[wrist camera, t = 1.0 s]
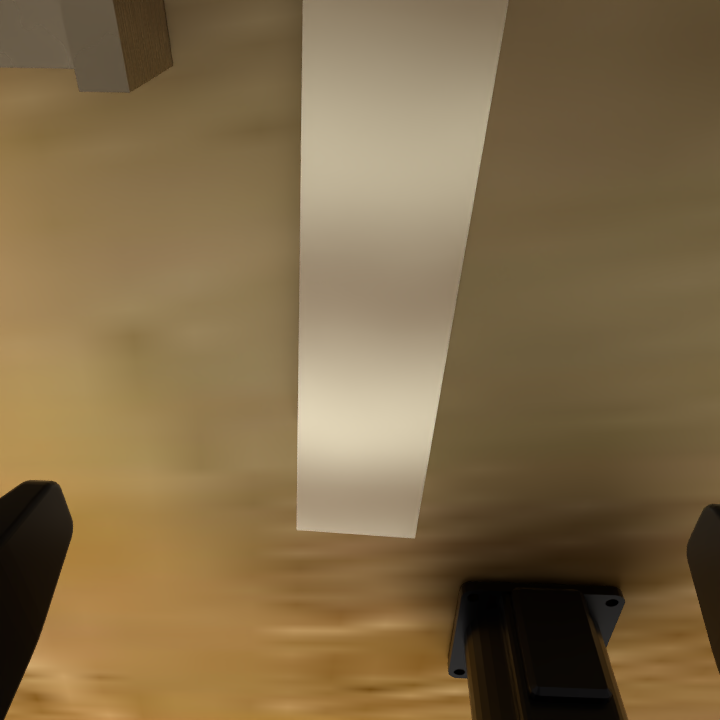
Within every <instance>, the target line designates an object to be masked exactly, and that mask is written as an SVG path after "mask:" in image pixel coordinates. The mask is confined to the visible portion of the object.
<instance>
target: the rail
mask: <svg viewBox="0 0 720 720" xmlns="http://www.w3.org/2000/svg"><path fill="white" fill-rule="evenodd" d="M508 2H509V0H303V25H302V111H301V196H300V282H299V368H298V454H297V530H305V531H319V532H333V533H347V534H361V535H375V536H389V537H403V538H415V534H416V529H417V523H418V517H419V511H420V506H421V500H422V494H423V489H424V483H425V477H426V471H427V466H428V460H429V454H430V449H431V443H432V437H433V431H434V426H435V420H436V414H437V408H438V403H439V397H440V391H441V386H442V380H443V374H444V368H445V363H446V357H447V351H448V346H449V340H450V334H451V328H452V323H453V317H454V311H455V305H456V300H457V294H458V288H459V283H460V277H461V271H462V265H463V260H464V254H465V248H466V243H467V237H468V231H469V225H470V220H471V214H472V208H473V203H474V197H475V191H476V185H477V180H478V174H479V168H480V162H481V157H482V151H483V145H484V140H485V134H486V128H487V122H488V117H489V111H490V105H491V100H492V94H493V88H494V82H495V77H496V71H497V65H498V59H499V54H500V48H501V42H502V37H503V31H504V25H505V19H506V14H507V8H508Z"/></svg>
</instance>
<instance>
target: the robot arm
mask: <svg viewBox="0 0 720 720" xmlns="http://www.w3.org/2000/svg"><path fill="white" fill-rule="evenodd" d="M72 533H73V521H72V517H71V515H70V512H69V509H68V506H67V504H66V501H65V498H64V495H63V493H62V490H61V488H60V486H59V485H58V484H57V483H56V482H54V481H41V480H29V481H25V482H23V483H21V484H20V485H18V486H17V487H15V488H14V489H12V490H11V491H9V492H8V493H7V494H5V495H4V496H2V497H1V498H0V720H4V719H5V717H6V714H7V712H8V710H9V707H10V705H11V703H12V701H13V698H14V696H15V694H16V691H17V689H18V687H19V685H20V682H21V680H22V678H23V675H24V673H25V671H26V669H27V666H28V664H29V662H30V659H31V657H32V655H33V652H34V650H35V647H36V645H37V642H38V640H39V637H40V634H41V631H42V629H43V626H44V623H45V620H46V617H47V613H48V610H49V607H50V604H51V601H52V598H53V594H54V591H55V588H56V585H57V582H58V579H59V576H60V572H61V569H62V566H63V563H64V560H65V557H66V553H67V550H68V547H69V544H70V541H71V537H72ZM687 559H688V564H689V567H690V571H691V575H692V578H693V582H694V586H695V589H696V593H697V597H698V600H699V604H700V608H701V611H702V615H703V619H704V622H705V626H706V630H707V633H708V637H709V641H710V644H711V648H712V652H713V655H714V658H715V661H716V665H717V668H718V671H719V673H720V504H710V505H708V506H706V507H705V508H704V509H703V511H702V513H701V515H700V517H699V519H698V521H697V524H696V526H695V528H694V530H693V532H692V534H691V536H690V539H689V541H688V544H687ZM624 604H625V599H624V597H623V594H622V591H621V590H620V589H619V588H617V587H611V586H583V585H556V584H528V583H501V582H467V583H465V584H463V585H462V586H461V588H460V593H459V599H458V605H457V611H456V617H455V623H454V629H453V634H452V640H451V646H450V652H449V658H448V672H449V675H450V676H452V677H455V678H467V679H468V688H469V697H470V706H471V715H472V720H628V718H627V715H626V711H625V708H624V705H623V702H622V698H621V695H620V692H619V689H618V686H617V682H616V679H615V676H614V673H613V669H612V666H611V663H610V660H609V656H608V653H607V650H606V647H607V644H608V642H609V639H610V637H611V635H612V632H613V630H614V628H615V625H616V623H617V620H618V618H619V616H620V613H621V611H622V609H623V606H624Z"/></svg>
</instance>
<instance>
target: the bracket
mask: <svg viewBox="0 0 720 720" xmlns="http://www.w3.org/2000/svg"><path fill="white" fill-rule="evenodd" d="M172 66H173V64H172V57H171V50H170V43H169V36H168V30H167V23H166V16H165V9H164V2H163V0H0V67H11V68H61V69H74V70H75V74H76V79H77V83H78V88H79V92H128V93H130V92H131V91H133V90H135V89H136V88H138V87H140V86H141V85H143V84H144V83H146V82H148V81H149V80H151V79H152V78H154V77H156V76H157V75H159V74H161V73H162V72H164V71H165V70H167V69H169V68H170V67H172Z"/></svg>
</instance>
